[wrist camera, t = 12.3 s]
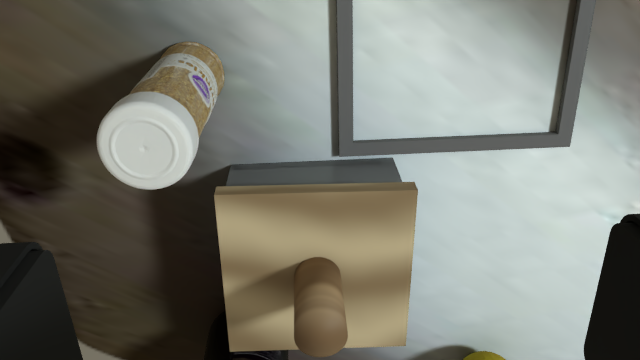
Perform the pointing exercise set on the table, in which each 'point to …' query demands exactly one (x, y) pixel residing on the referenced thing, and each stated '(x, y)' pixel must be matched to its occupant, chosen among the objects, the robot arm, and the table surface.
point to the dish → (315, 172)
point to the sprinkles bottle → (162, 118)
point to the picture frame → (460, 143)
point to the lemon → (483, 356)
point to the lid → (316, 265)
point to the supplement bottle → (219, 352)
